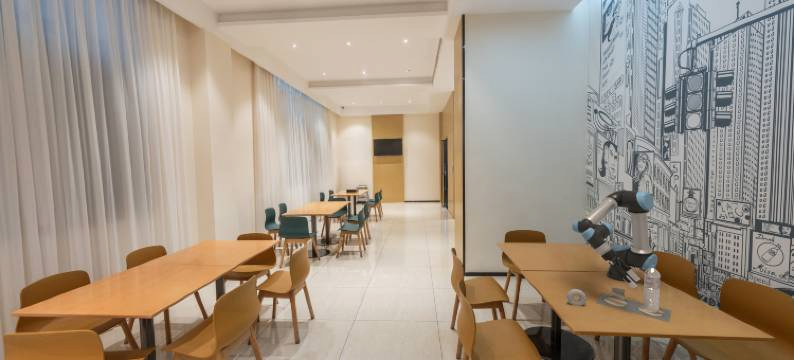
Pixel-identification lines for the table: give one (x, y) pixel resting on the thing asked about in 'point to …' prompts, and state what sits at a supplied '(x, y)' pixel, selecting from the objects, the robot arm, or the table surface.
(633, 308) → the board
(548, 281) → the table surface
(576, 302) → the donut
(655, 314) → the ochre tag coaster
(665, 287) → the table surface
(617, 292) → the white tag coaster
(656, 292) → the water bottle
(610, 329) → the table surface
